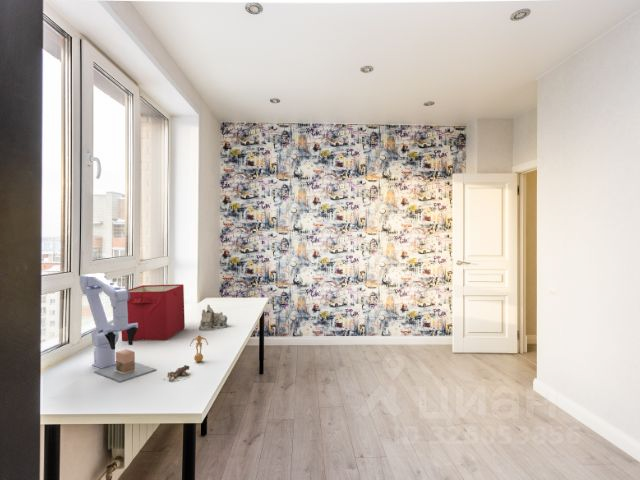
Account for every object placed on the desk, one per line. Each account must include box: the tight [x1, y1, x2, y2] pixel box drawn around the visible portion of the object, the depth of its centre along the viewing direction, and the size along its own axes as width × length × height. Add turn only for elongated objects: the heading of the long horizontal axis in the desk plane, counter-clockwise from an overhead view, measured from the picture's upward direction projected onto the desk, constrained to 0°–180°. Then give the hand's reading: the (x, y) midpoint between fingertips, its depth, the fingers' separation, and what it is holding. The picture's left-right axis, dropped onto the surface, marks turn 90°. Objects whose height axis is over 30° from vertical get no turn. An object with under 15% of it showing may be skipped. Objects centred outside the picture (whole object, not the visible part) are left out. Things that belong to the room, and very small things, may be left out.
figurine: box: [189, 335, 209, 363], centre depth 177 cm, size 8×6×12 cm
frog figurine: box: [162, 364, 191, 383], centre depth 158 cm, size 12×12×4 cm
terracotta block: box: [115, 349, 136, 364], centre depth 166 cm, size 7×5×4 cm, turn 55°
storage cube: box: [121, 283, 186, 342], centre depth 230 cm, size 32×28×29 cm
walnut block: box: [115, 360, 136, 373], centre depth 166 cm, size 7×5×4 cm, turn 55°
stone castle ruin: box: [198, 304, 228, 332], centre depth 243 cm, size 16×16×15 cm
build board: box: [94, 362, 157, 383], centre depth 166 cm, size 22×16×1 cm
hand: (121, 347), depth 167 cm, fingers open, 7 cm apart
